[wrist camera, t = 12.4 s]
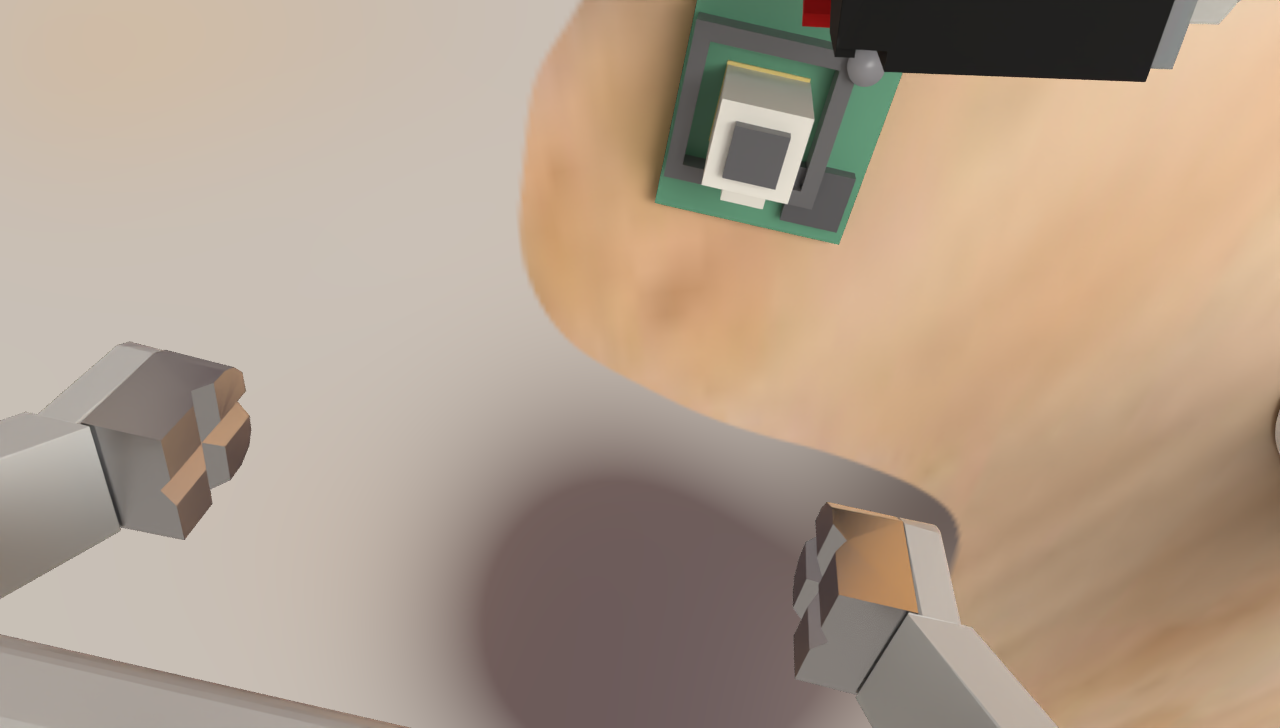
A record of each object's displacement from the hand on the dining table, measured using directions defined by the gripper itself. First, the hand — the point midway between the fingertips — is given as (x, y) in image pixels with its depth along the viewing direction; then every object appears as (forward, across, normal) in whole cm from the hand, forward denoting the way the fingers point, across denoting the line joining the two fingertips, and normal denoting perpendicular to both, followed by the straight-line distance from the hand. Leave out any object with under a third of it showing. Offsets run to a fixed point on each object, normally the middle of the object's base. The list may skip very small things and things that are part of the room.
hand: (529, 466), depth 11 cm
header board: (+33, -5, +5) cm, 34 cm away
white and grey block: (+32, -4, +5) cm, 32 cm away
